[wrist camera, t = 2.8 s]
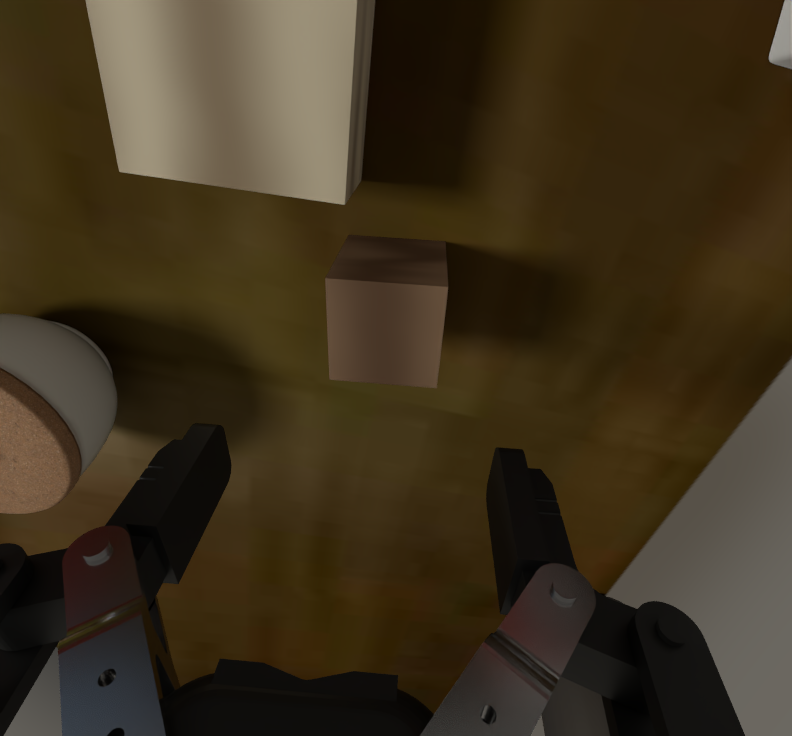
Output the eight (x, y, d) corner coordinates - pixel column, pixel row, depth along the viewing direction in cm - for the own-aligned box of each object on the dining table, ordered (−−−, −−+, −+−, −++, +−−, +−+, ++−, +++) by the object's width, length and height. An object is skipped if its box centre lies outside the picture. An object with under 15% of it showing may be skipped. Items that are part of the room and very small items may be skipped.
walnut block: (445, 241, 23) (448, 287, 18) (436, 327, 26) (436, 388, 21) (348, 234, 24) (325, 278, 19) (349, 321, 26) (329, 379, 21)
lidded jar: (135, 447, 33) (43, 563, 25) (-22, 388, 31) (-176, 495, 23) (162, 333, 28) (54, 436, 20) (-27, 252, 26) (-231, 332, 18)
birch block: (381, -70, 17) (364, -115, 13) (361, 179, 22) (344, 204, 18) (146, -105, 17) (54, -162, 13) (178, 152, 22) (119, 171, 18)
